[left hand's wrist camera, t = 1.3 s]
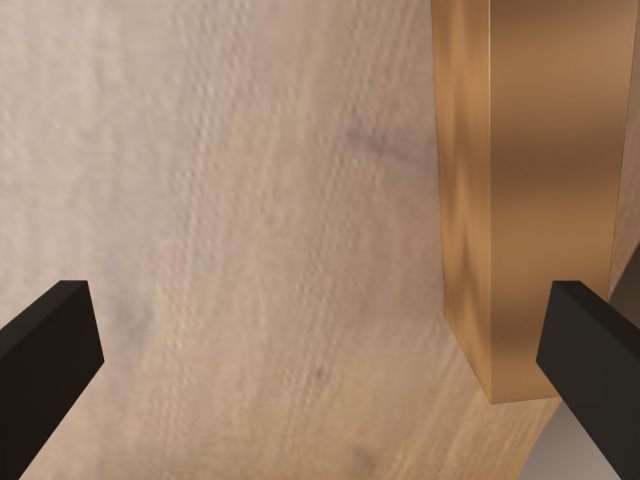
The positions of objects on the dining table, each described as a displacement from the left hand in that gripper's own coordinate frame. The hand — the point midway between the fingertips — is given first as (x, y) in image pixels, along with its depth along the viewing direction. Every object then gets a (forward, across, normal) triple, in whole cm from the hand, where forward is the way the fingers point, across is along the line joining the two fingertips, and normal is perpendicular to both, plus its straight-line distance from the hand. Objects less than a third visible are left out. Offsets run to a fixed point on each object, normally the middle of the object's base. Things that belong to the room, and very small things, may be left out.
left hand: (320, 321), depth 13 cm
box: (+19, -11, -2) cm, 22 cm away
